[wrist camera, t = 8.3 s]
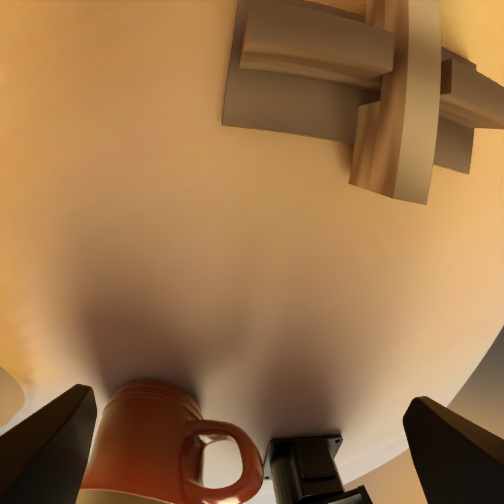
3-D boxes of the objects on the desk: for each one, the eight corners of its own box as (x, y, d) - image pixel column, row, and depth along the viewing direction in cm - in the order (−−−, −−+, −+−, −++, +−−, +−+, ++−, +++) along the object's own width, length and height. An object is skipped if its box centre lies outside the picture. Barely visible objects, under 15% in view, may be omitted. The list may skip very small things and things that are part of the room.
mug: (144, 450, 23) (129, 547, 14) (80, 382, 21) (35, 487, 11) (271, 414, 23) (295, 527, 13) (220, 331, 20) (225, 466, 10)
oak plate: (377, 188, 17) (426, 204, 13) (348, 183, 17) (392, 198, 12) (392, 3, 14) (436, -26, 9) (366, -7, 13) (406, -41, 9)
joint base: (461, 172, 18) (522, 186, 13) (221, 125, 16) (222, 114, 11) (469, 66, 16) (526, 56, 10) (239, -4, 14) (248, -57, 8)
